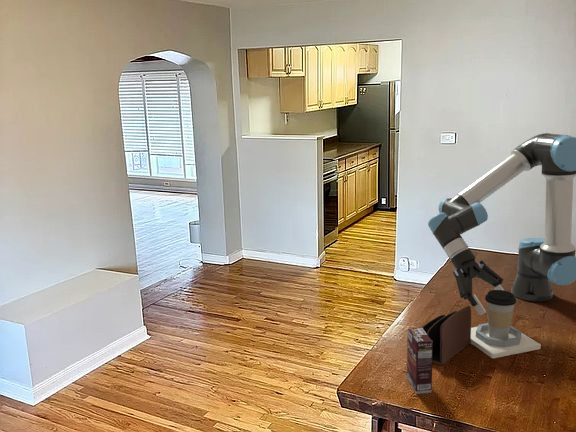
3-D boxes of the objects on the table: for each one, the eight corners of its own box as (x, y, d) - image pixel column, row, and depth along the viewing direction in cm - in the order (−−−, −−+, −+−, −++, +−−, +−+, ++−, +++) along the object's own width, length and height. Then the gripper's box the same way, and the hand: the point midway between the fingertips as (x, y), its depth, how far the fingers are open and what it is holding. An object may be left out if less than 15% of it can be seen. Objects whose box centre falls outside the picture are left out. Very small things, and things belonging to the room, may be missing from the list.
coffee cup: (516, 344, 169) (519, 300, 165) (485, 342, 171) (487, 299, 167) (510, 331, 178) (513, 289, 174) (480, 329, 180) (483, 288, 176)
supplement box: (405, 378, 154) (406, 328, 151) (422, 377, 155) (423, 327, 151) (415, 394, 146) (416, 342, 142) (432, 393, 146) (433, 340, 143)
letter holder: (470, 343, 174) (472, 303, 171) (441, 366, 160) (443, 323, 157) (443, 334, 181) (444, 296, 178) (412, 356, 167) (413, 315, 164)
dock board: (503, 326, 185) (503, 316, 185) (540, 348, 168) (541, 338, 168) (458, 334, 181) (458, 324, 180) (492, 358, 164) (492, 348, 163)
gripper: (475, 252, 191) (510, 303, 182) (428, 267, 177) (464, 323, 168) (489, 241, 185) (526, 293, 177) (442, 255, 171) (479, 313, 163)
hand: (496, 308), depth 172 cm, fingers open, 13 cm apart
